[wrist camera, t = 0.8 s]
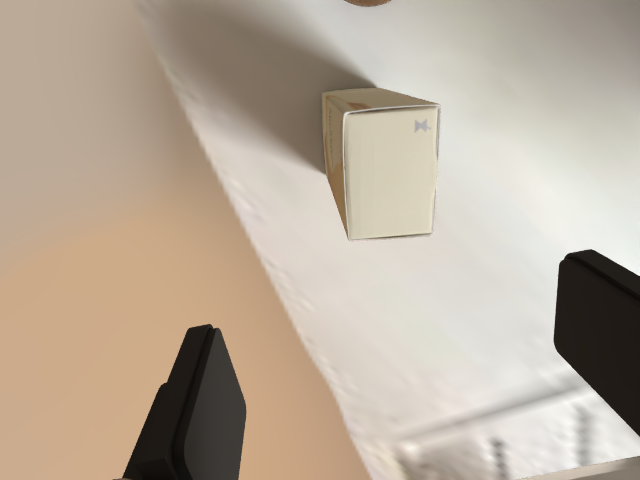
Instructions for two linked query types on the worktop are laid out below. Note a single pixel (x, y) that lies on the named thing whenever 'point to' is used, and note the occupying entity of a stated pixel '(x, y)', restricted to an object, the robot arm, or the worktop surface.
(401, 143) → the skincare box
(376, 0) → the wooden mushroom
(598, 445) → the worktop surface
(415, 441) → the worktop surface
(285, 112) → the worktop surface
